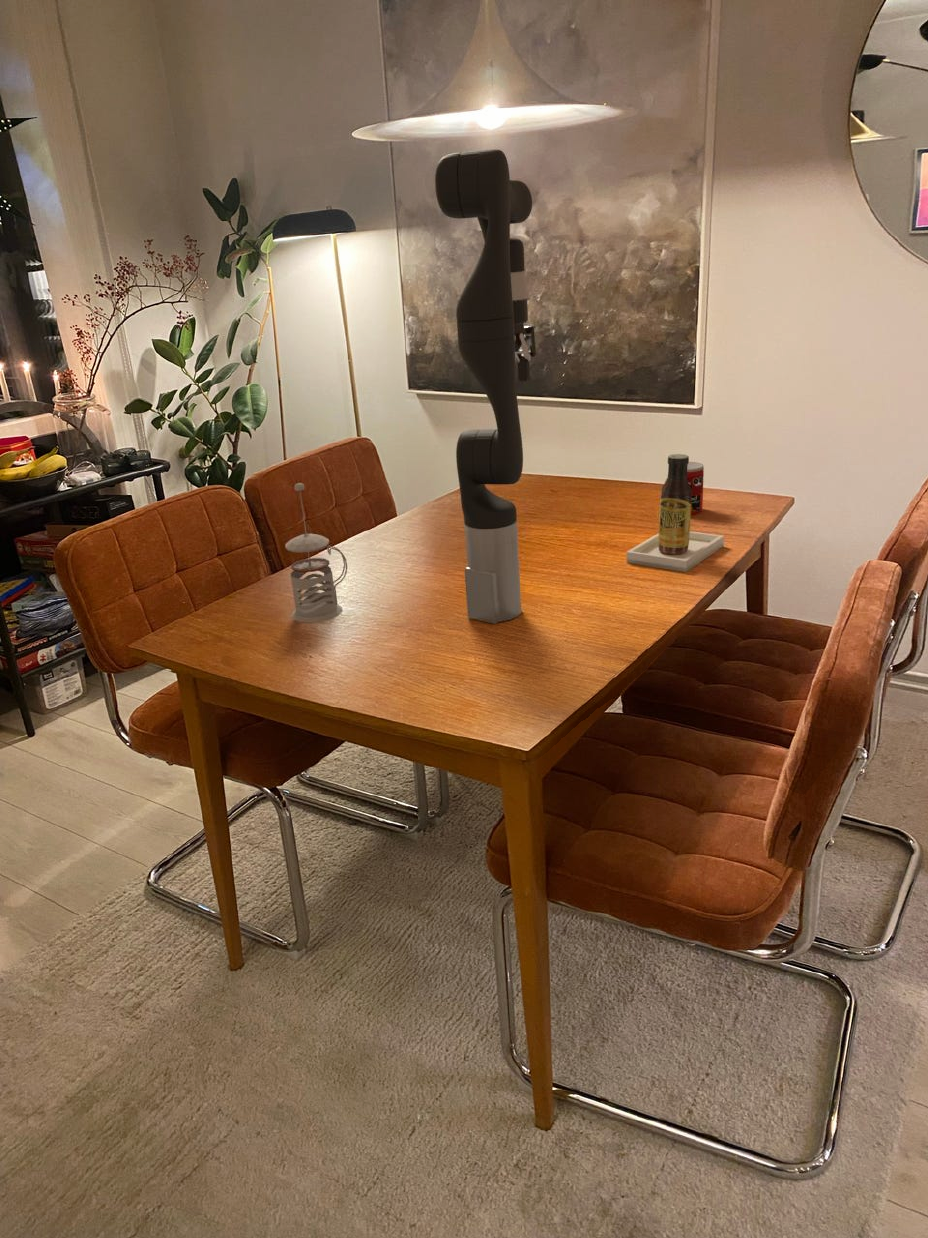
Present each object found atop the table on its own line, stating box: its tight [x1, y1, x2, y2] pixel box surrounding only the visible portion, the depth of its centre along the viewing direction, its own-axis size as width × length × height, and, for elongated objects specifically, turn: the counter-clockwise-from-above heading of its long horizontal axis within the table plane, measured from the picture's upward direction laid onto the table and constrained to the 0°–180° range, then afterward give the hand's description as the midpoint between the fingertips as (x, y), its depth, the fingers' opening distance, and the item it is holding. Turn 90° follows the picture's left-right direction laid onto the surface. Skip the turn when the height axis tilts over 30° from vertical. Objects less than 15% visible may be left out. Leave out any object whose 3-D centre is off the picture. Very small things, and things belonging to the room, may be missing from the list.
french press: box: [285, 482, 348, 624], centre depth 171 cm, size 10×12×25 cm
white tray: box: [626, 530, 725, 573], centre depth 192 cm, size 18×13×2 cm
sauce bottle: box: [657, 453, 692, 554], centre depth 188 cm, size 6×6×20 cm
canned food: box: [687, 461, 705, 516], centre depth 219 cm, size 8×8×11 cm
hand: (511, 384), depth 184 cm, fingers open, 8 cm apart
